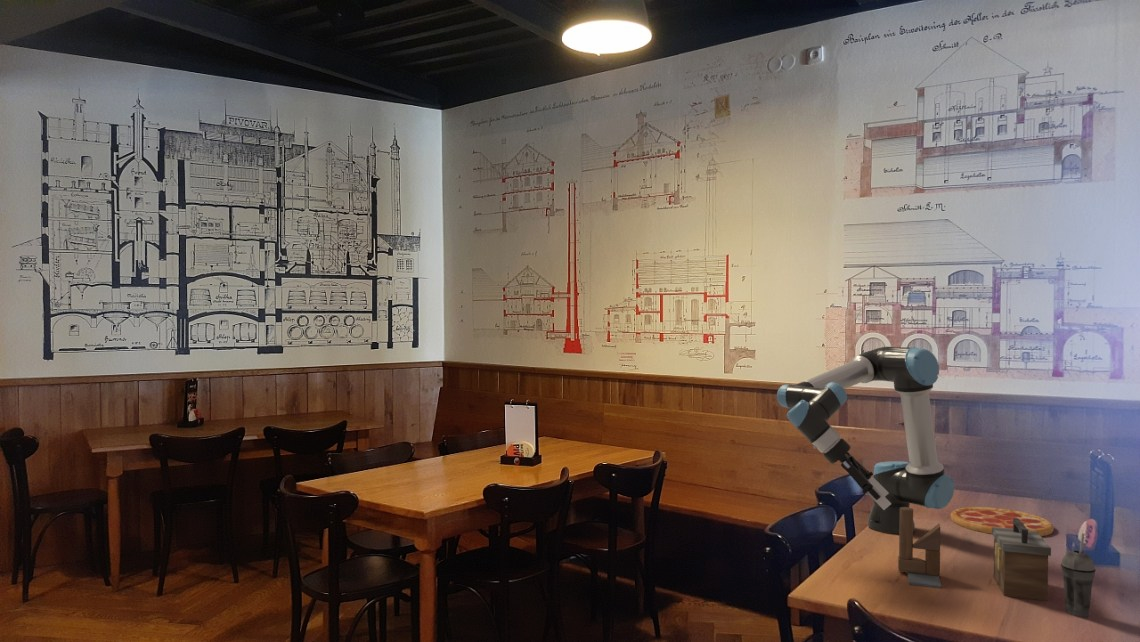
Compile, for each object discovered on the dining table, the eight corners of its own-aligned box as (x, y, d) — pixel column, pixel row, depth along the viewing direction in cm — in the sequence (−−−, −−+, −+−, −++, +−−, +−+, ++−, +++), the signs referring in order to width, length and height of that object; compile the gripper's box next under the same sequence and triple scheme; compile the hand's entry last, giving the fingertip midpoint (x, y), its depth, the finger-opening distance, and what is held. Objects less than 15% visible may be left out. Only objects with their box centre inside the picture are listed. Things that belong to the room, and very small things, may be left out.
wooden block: (939, 576, 216) (940, 513, 216) (898, 571, 220) (899, 509, 220) (938, 572, 219) (939, 509, 219) (898, 567, 223) (898, 506, 223)
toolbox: (991, 575, 219) (992, 514, 219) (1035, 580, 215) (1036, 518, 215) (1002, 596, 203) (1003, 529, 203) (1050, 601, 199) (1051, 534, 199)
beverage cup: (1053, 608, 195) (1054, 529, 195) (1080, 607, 196) (1081, 529, 195) (1074, 619, 188) (1075, 538, 187) (1102, 618, 188) (1103, 537, 188)
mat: (905, 566, 226) (905, 564, 226) (935, 570, 224) (935, 567, 224) (909, 584, 211) (909, 582, 211) (941, 588, 208) (941, 586, 208)
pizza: (1074, 539, 257) (1074, 531, 257) (978, 538, 258) (978, 529, 258) (1020, 514, 289) (1020, 507, 289) (934, 513, 290) (935, 505, 290)
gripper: (823, 447, 238) (874, 499, 233) (820, 461, 215) (878, 520, 210) (841, 431, 236) (893, 483, 231) (841, 444, 213) (899, 502, 208)
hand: (886, 501), depth 220 cm, fingers open, 13 cm apart
